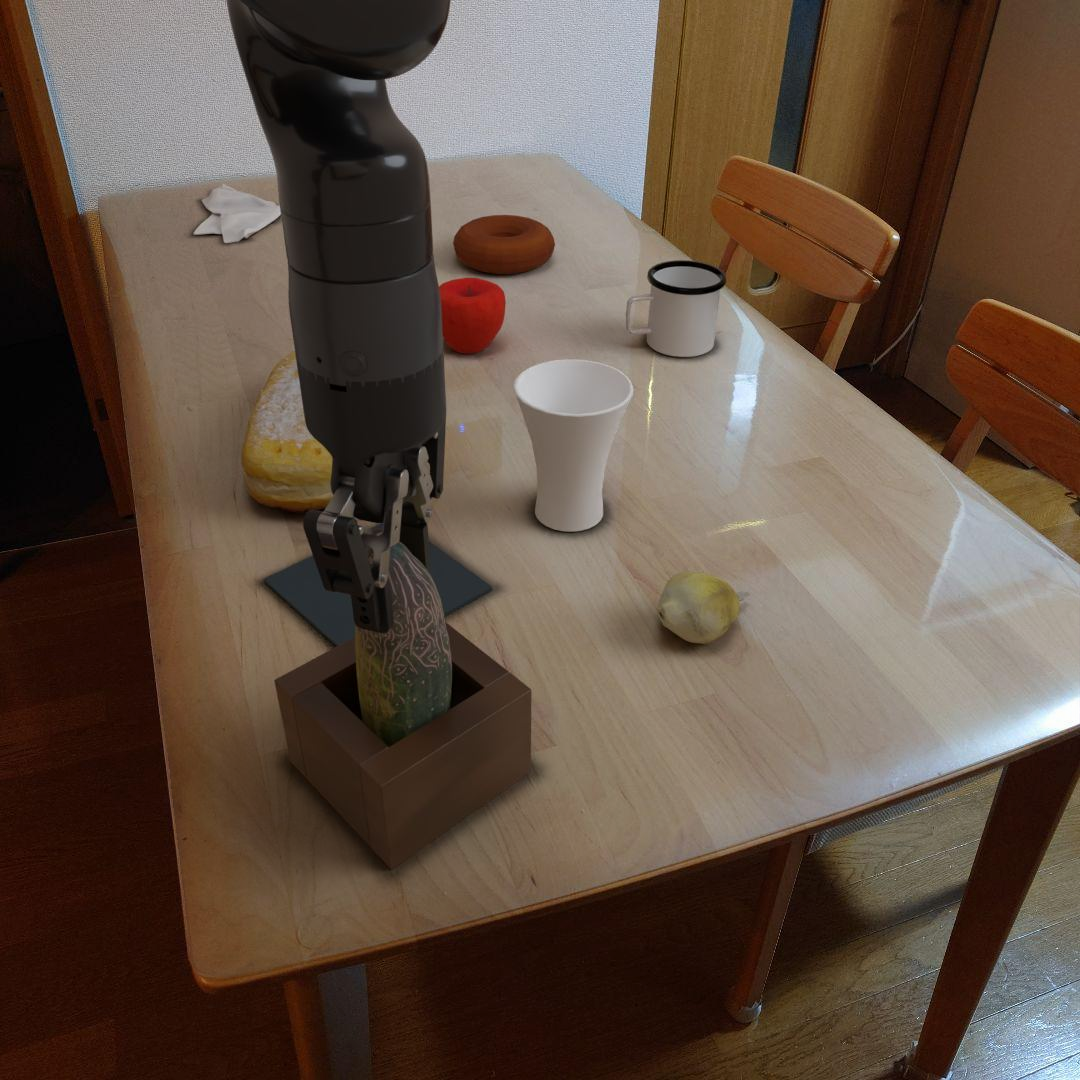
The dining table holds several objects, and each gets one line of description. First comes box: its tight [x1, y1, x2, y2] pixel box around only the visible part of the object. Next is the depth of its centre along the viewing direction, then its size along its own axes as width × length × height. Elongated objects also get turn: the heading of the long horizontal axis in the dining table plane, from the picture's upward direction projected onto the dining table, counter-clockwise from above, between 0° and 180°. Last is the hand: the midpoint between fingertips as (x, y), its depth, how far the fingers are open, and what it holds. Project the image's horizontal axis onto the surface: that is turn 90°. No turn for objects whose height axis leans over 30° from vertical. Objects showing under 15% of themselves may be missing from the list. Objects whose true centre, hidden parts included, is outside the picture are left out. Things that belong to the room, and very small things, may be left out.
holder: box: [273, 621, 532, 870], centre depth 68 cm, size 12×12×8 cm
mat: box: [263, 522, 493, 648], centre depth 87 cm, size 14×14×1 cm
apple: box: [439, 277, 507, 355], centre depth 122 cm, size 9×9×8 cm
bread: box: [240, 350, 333, 514], centre depth 102 cm, size 13×26×8 cm, turn 4°
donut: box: [452, 214, 556, 275], centre depth 147 cm, size 15×15×5 cm
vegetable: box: [355, 541, 452, 747], centre depth 65 cm, size 6×6×20 cm
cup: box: [513, 358, 634, 533], centre depth 92 cm, size 10×10×14 cm
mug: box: [625, 259, 727, 358], centre depth 123 cm, size 12×10×9 cm
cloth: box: [193, 183, 281, 244], centre depth 162 cm, size 26×14×2 cm, turn 10°
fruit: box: [655, 571, 751, 645], centre depth 82 cm, size 6×6×10 cm
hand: (393, 597), depth 62 cm, fingers closed on vegetable, 5 cm apart
